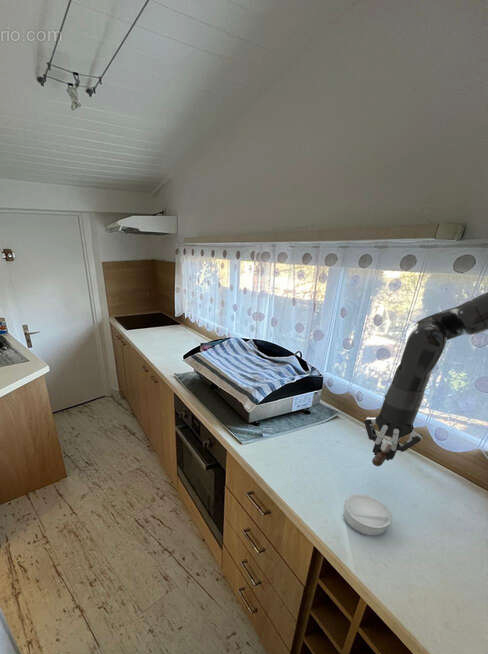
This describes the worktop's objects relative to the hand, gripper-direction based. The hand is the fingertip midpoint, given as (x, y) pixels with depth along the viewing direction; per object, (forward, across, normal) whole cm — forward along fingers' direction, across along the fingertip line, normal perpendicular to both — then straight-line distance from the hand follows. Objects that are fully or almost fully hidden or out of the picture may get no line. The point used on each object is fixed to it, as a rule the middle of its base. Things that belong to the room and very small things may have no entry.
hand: (382, 456), depth 84 cm
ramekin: (+15, -2, +12) cm, 19 cm away
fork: (0, 0, -3) cm, 3 cm away
